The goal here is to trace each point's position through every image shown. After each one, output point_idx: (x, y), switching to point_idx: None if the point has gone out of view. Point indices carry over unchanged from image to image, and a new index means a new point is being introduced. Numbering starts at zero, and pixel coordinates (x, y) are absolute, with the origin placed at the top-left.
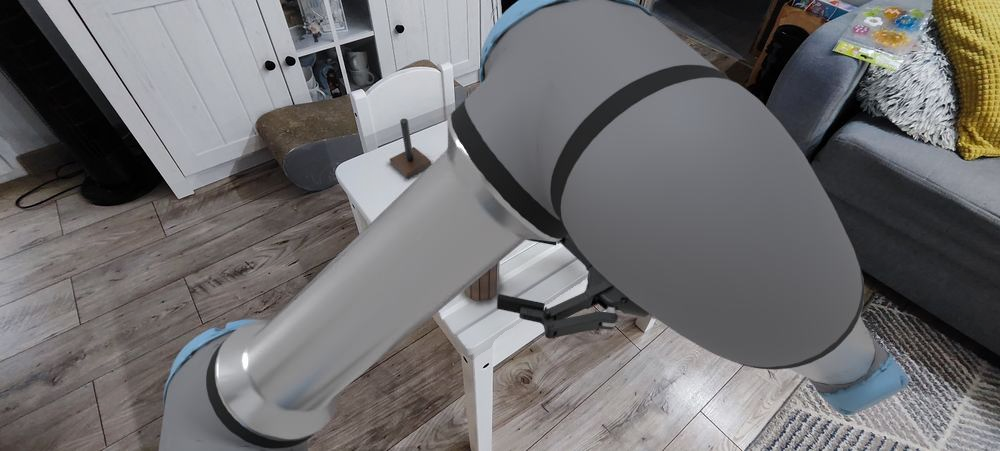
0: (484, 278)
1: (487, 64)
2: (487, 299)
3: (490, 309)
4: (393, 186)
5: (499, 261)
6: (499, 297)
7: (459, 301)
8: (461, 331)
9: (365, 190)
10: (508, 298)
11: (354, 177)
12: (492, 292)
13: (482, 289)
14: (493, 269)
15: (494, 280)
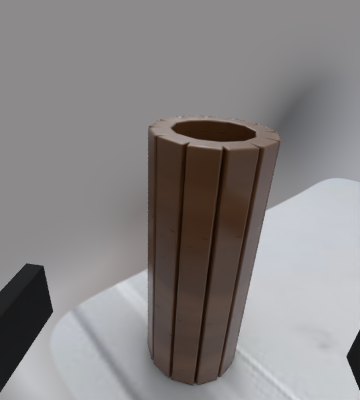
0: (150, 276)
1: None
2: (151, 354)
3: (124, 367)
4: (355, 208)
5: (201, 289)
6: (26, 267)
7: None
8: (74, 312)
9: (324, 190)
10: (11, 291)
11: (337, 182)
12: (160, 352)
13: (148, 309)
14: (164, 274)
15: (167, 322)
